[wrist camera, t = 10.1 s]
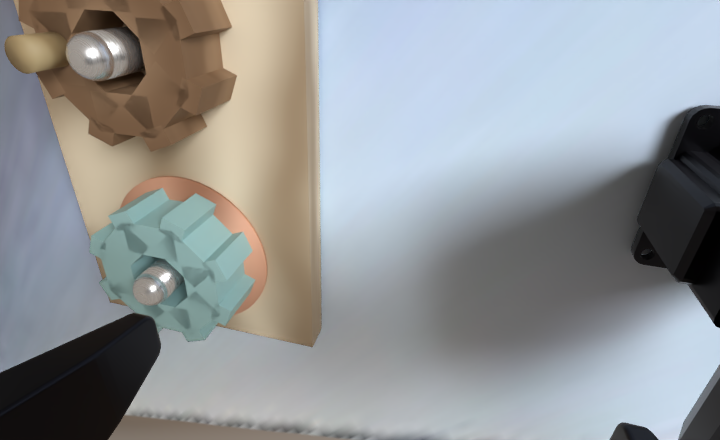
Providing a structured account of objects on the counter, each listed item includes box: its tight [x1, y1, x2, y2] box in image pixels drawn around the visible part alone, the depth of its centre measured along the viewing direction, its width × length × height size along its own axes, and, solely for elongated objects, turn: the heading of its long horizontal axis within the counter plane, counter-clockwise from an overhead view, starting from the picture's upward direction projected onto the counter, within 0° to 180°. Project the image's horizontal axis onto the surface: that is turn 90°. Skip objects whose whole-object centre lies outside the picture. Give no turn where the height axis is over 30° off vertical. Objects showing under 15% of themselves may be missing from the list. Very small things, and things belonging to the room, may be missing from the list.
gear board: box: [14, 0, 321, 347], centre depth 20 cm, size 13×20×2 cm, turn 178°
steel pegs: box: [65, 26, 185, 306], centre depth 18 cm, size 2×12×4 cm, turn 178°
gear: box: [5, 0, 237, 152], centre depth 16 cm, size 7×7×4 cm
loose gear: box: [89, 188, 255, 342], centre depth 21 cm, size 7×7×2 cm
